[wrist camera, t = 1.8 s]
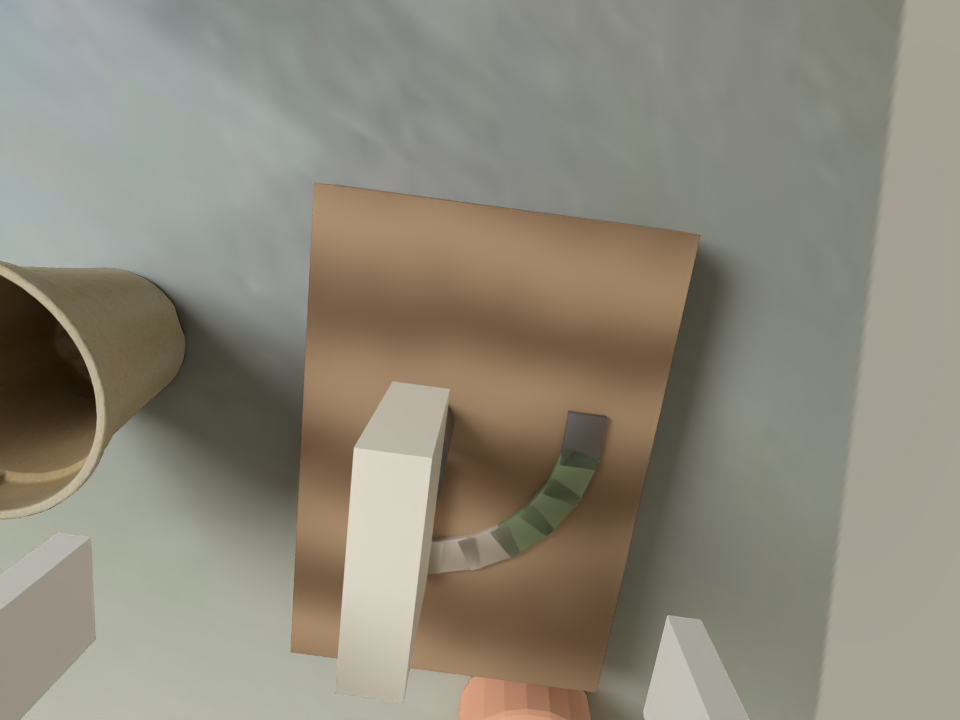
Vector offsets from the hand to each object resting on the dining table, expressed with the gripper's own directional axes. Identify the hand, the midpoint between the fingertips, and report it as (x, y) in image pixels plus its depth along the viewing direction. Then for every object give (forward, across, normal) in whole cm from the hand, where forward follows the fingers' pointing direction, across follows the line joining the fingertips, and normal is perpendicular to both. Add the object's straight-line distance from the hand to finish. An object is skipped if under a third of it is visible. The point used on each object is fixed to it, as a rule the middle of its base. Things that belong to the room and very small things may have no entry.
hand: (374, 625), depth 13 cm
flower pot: (+15, -15, +2) cm, 22 cm away
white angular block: (+12, 0, -1) cm, 12 cm away
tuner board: (+15, +2, -2) cm, 15 cm away
